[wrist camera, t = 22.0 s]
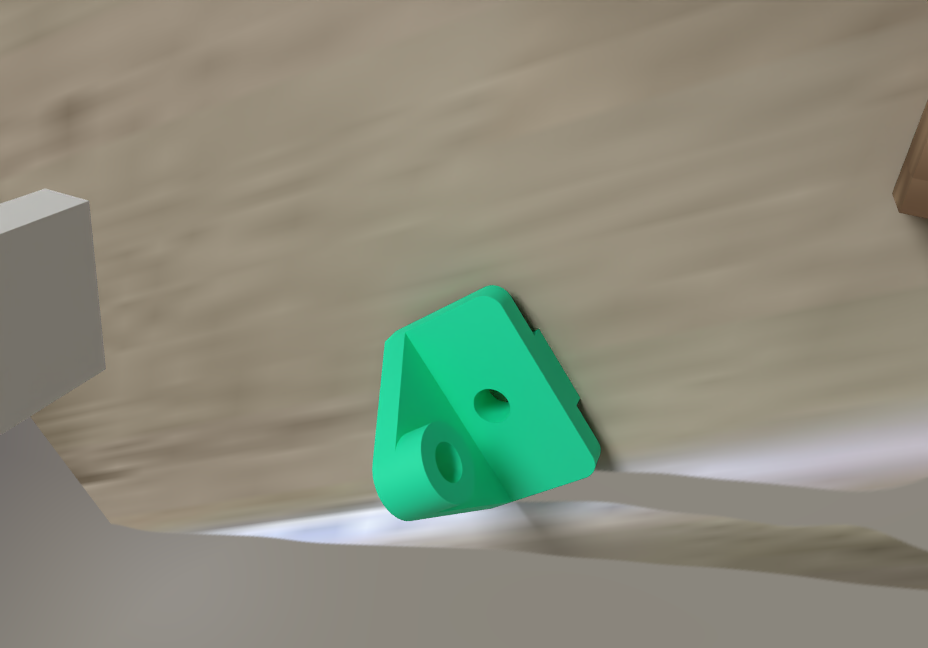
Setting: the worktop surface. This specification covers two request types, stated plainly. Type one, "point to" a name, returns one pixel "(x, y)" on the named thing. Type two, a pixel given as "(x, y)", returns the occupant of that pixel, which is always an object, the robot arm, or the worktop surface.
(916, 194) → the frame
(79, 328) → the robot arm
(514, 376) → the camera mount
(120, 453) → the worktop surface
